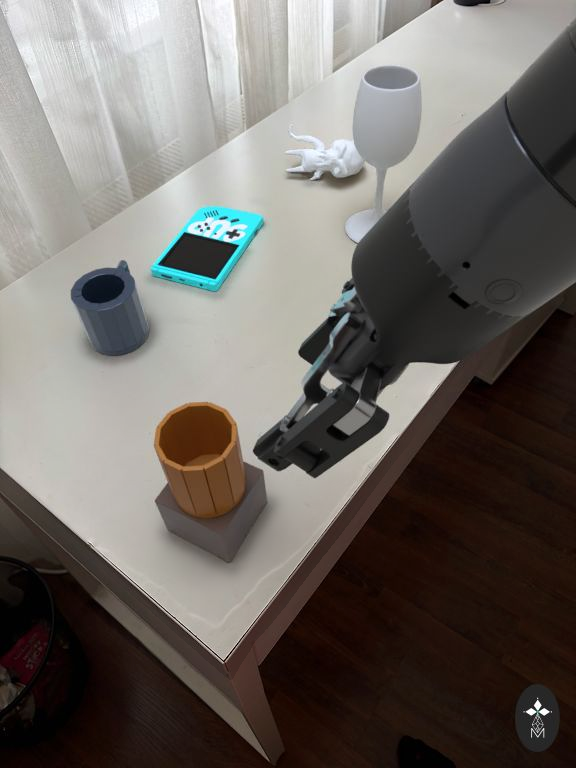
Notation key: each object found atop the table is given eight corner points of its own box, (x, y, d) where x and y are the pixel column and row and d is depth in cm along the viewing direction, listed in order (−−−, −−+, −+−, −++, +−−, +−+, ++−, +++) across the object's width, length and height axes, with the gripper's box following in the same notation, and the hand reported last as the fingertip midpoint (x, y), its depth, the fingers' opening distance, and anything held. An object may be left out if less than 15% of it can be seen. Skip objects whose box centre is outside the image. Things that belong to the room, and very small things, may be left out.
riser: (229, 563, 54) (221, 535, 49) (167, 530, 56) (154, 500, 51) (267, 501, 58) (263, 470, 53) (207, 473, 60) (198, 440, 55)
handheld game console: (265, 222, 86) (265, 214, 85) (217, 293, 77) (216, 285, 76) (204, 209, 88) (203, 201, 87) (150, 275, 79) (148, 268, 78)
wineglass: (410, 215, 86) (434, 64, 69) (401, 252, 81) (423, 98, 64) (352, 207, 87) (361, 57, 71) (339, 243, 82) (345, 90, 66)
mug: (139, 358, 70) (123, 313, 64) (81, 353, 71) (60, 307, 65) (162, 300, 76) (150, 253, 70) (109, 295, 77) (92, 249, 71)
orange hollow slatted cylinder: (220, 530, 49) (207, 483, 43) (159, 499, 51) (137, 449, 45) (259, 471, 53) (251, 419, 47) (199, 444, 55) (185, 391, 49)
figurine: (278, 123, 88) (355, 116, 84) (301, 127, 96) (373, 122, 91) (280, 181, 91) (355, 178, 86) (303, 181, 99) (372, 178, 94)
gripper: (439, 115, 29) (278, 301, 41) (378, 283, 20) (192, 462, 31) (549, 209, 30) (363, 362, 42) (540, 406, 21) (304, 532, 33)
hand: (290, 404), depth 37 cm, fingers open, 8 cm apart
